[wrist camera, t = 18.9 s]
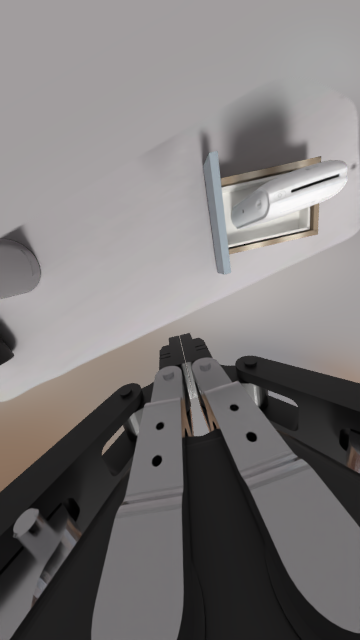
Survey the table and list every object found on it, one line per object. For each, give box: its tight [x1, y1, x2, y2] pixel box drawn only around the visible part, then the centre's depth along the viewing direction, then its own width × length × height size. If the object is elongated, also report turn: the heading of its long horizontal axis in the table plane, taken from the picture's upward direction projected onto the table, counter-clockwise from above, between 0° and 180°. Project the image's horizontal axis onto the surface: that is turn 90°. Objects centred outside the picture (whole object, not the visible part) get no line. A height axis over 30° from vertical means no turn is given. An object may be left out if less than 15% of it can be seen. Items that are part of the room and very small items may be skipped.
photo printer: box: [231, 160, 348, 229], centre depth 25 cm, size 10×4×12 cm, turn 108°
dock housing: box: [221, 156, 321, 254], centre depth 31 cm, size 16×11×4 cm
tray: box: [203, 151, 310, 274], centre depth 30 cm, size 16×17×4 cm
